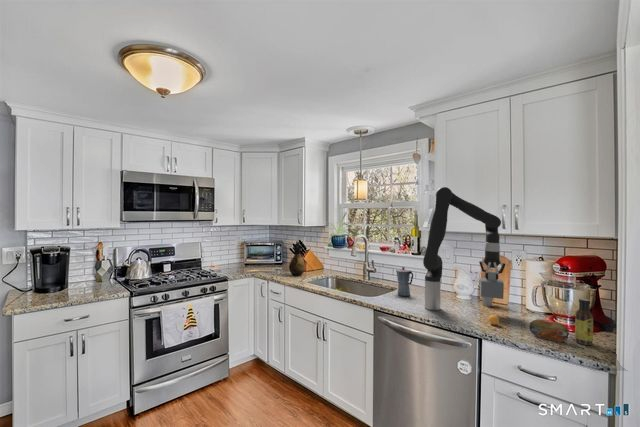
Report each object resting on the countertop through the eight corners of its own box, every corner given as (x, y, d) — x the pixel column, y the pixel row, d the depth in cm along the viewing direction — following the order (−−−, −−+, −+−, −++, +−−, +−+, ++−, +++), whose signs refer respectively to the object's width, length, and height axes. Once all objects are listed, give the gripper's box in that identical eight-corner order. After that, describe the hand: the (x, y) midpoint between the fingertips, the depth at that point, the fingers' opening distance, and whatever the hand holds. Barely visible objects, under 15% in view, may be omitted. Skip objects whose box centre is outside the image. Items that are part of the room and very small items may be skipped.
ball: (486, 323, 170) (486, 313, 170) (495, 322, 170) (495, 313, 170) (492, 326, 165) (492, 316, 165) (501, 326, 165) (501, 316, 165)
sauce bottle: (590, 347, 139) (590, 302, 139) (573, 342, 144) (573, 299, 144) (594, 344, 143) (595, 300, 143) (577, 339, 148) (577, 297, 148)
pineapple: (308, 276, 294) (308, 244, 295) (293, 277, 286) (293, 244, 286) (299, 273, 309) (300, 242, 309) (285, 274, 301) (285, 243, 301)
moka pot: (399, 292, 237) (399, 265, 237) (417, 296, 225) (417, 268, 225) (391, 294, 231) (391, 266, 231) (409, 298, 219) (410, 269, 219)
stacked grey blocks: (480, 296, 181) (481, 272, 181) (480, 292, 192) (480, 269, 191) (503, 299, 177) (503, 274, 177) (501, 294, 187) (501, 271, 187)
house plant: (498, 303, 209) (498, 278, 209) (504, 309, 195) (504, 282, 195) (474, 301, 213) (475, 277, 213) (478, 307, 199) (479, 281, 200)
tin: (529, 335, 153) (529, 317, 153) (530, 333, 155) (530, 316, 155) (568, 344, 142) (568, 325, 142) (569, 342, 144) (569, 324, 144)
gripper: (478, 250, 184) (478, 279, 184) (507, 251, 178) (506, 282, 178) (478, 248, 190) (477, 277, 190) (505, 250, 184) (505, 279, 184)
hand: (491, 279), depth 184 cm, fingers closed on stacked grey blocks, 4 cm apart
